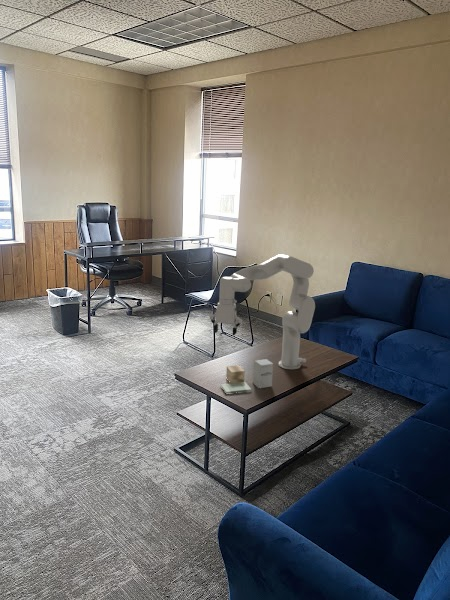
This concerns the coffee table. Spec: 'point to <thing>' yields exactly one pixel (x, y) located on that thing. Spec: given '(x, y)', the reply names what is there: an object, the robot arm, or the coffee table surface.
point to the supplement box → (263, 373)
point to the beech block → (235, 374)
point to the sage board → (236, 387)
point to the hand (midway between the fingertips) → (225, 333)
